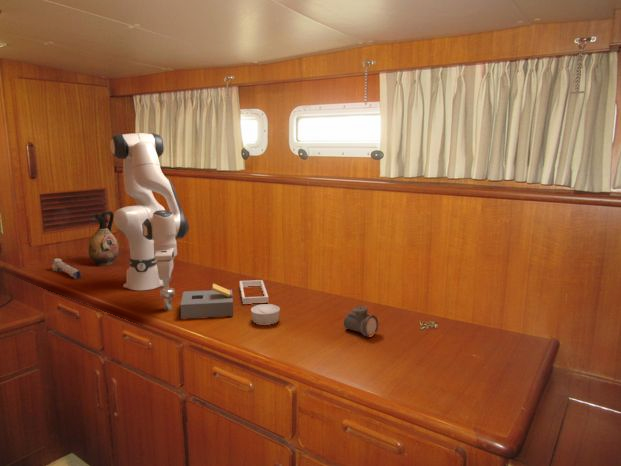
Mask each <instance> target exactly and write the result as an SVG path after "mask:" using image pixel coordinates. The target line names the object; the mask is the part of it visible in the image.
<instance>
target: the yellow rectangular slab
mask: <svg viewBox="0 0 621 466" xmlns="http://www.w3.org/2000/svg"><path fill="white" fill-rule="evenodd" d="M211 287H212V288H211V290H213V291H216V292H218V293H220V294H223V295H225V296H228V297H230V298H232V297H234V295H233V289H232V290H230V289H227V288H225V287H222V286H221V285H218V284H216V283H212V286H211Z"/></svg>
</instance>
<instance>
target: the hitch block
mask: <svg viewBox="0 0 621 466" xmlns="http://www.w3.org/2000/svg"><path fill="white" fill-rule="evenodd" d="M229 290H232V291H233V289H229ZM181 296H182V297H181V301H180V320H186V319H185V318H197V319H204V318H203V317H214V318H224V317H223V316H232V317H234V298H233V297H234V296H233V297H232V298H230V297H228V296H225V295H223V294H220V293H218V292H216V291H213V290H212V289H211V290H191V291H188V290H187V291H183V292H182V295H181Z"/></svg>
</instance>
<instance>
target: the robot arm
mask: <svg viewBox="0 0 621 466" xmlns="http://www.w3.org/2000/svg"><path fill="white" fill-rule="evenodd" d="M109 148H110V150H111V153H112V155H113V157H115V158H116V159H119V160H120V159H121V160H123V161H122V174H123V184H124V191H125V193H126V194H127V195H128V196H130V197H131V198H133V199H134V201H135V203H136V205H130V206H129V205H128V206H124V207H122V208H118V209H117V210H116V211H115V212H114V213H113V214H114V218H113V223H114V225H115V227H116V228H117V229H118V230H120V231H121V232H122V233H123V234H124V235H125V237H126V238H127V241H128V244H129V246H128V247H129V255H130V258H129V263H128V264H129V267H128V268H127V269H126V282H125V283H124V284H123V285H122V287H123V288H125V289H129V290H133V291H148V290H150V291H151V290H154V289H157V288H160V287H163V288H170V283H171V281H172V272H173V270H174V264H175V263H174V260H175V257H177V255H178V244H177V243H178V242H177V240H179V239H183V238H185V236H187V234H189V230H190V225H189V222H188V220H187V217H186V215H185V214H184V211H183V209H182V206H181V203H180V200H179V198H178V195H177V192H176V189H175V186H174V185H173V183H172V180H171V179H169V178H168V177H167V176H165V175H164V173H163V171H162V169H161V168H162V167H161V163H160V160H159V158H160V157H161V156H162V155H163V154H164V149H165V143H164V140H163V138H162V136H161V135H160V134H157V133H143V132H136V133H124V134H122V133H117V134H114V135H113V136H112V137H111V139H110V143H109ZM153 192H155V193H158V194H159V195H162V196H163V197H164V198H165V201H166V202H167V203H166V204H167V206H168V210H166V209H165V207H164V206H163V205H162V204H160V203H159V202H158V201H157V199H156V198H155V196H154V193H153ZM176 239H177V240H176ZM169 282H170V283H169Z"/></svg>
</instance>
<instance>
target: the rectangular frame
mask: <svg viewBox="0 0 621 466" xmlns="http://www.w3.org/2000/svg"><path fill="white" fill-rule="evenodd" d="M248 286H261V287H260V289H261V288H262V289H261V292H262V291H263V293H262V296H248V297H247V296H246V295H245V292H244V288H249V287H248ZM239 291H241V292H240V297H242V298H241V302H243V303H242V305H243V304H251V305H253V304H252V303H266V302H268V303H269V295H268V292H267V289H266V285H265V283H264V280H263V279H260V280H259V279H255V280H239ZM263 294H264V296H263Z"/></svg>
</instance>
